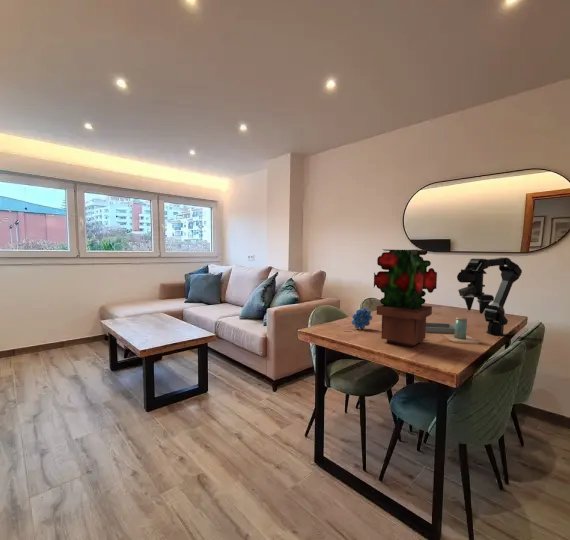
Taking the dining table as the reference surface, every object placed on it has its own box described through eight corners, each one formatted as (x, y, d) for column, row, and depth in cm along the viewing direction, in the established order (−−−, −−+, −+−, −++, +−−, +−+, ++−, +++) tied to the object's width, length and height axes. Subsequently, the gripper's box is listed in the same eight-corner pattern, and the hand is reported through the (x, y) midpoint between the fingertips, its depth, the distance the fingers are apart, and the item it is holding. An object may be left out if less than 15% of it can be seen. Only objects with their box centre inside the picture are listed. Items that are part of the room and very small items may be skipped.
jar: (457, 335, 154) (458, 316, 153) (468, 338, 150) (469, 318, 149) (452, 337, 151) (453, 317, 150) (463, 339, 147) (463, 319, 146)
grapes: (369, 327, 174) (369, 306, 173) (373, 330, 167) (373, 309, 167) (349, 327, 174) (350, 306, 173) (352, 330, 167) (353, 308, 166)
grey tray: (449, 329, 171) (449, 323, 171) (458, 335, 159) (459, 328, 159) (416, 328, 173) (416, 322, 173) (423, 333, 161) (423, 327, 161)
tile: (467, 337, 155) (467, 335, 155) (478, 344, 144) (478, 342, 144) (442, 336, 157) (442, 334, 157) (452, 342, 145) (452, 340, 145)
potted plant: (372, 342, 144) (374, 249, 141) (389, 333, 161) (392, 250, 158) (420, 352, 129) (424, 249, 127) (434, 341, 146) (438, 250, 144)
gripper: (450, 280, 165) (449, 308, 166) (473, 284, 147) (471, 315, 147) (470, 280, 166) (468, 308, 167) (495, 284, 147) (493, 315, 148)
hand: (474, 311), depth 157 cm, fingers open, 9 cm apart
